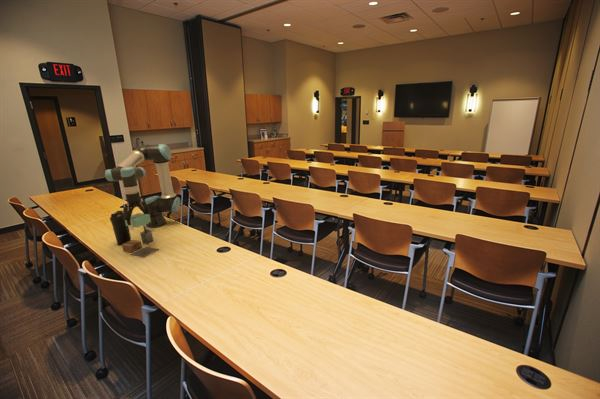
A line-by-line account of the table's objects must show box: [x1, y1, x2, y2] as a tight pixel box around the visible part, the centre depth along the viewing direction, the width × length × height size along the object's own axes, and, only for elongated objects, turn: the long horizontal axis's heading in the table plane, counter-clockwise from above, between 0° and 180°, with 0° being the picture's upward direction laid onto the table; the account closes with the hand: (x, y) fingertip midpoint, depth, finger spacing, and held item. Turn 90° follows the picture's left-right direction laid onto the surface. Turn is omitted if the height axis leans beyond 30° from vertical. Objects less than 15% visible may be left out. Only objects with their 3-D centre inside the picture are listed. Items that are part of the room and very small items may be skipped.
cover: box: [125, 212, 151, 228], centre depth 185 cm, size 10×10×5 cm
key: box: [142, 224, 155, 233], centre depth 200 cm, size 10×9×11 cm
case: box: [121, 239, 143, 254], centre depth 195 cm, size 8×8×5 cm
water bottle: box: [109, 210, 132, 246], centre depth 204 cm, size 10×10×23 cm
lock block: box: [140, 230, 154, 245], centre depth 205 cm, size 5×5×8 cm
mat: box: [129, 246, 160, 258], centre depth 191 cm, size 12×12×1 cm
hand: (139, 226), depth 186 cm, fingers closed on cover, 10 cm apart
